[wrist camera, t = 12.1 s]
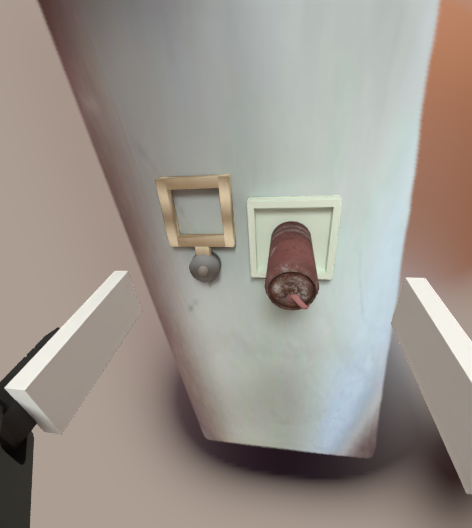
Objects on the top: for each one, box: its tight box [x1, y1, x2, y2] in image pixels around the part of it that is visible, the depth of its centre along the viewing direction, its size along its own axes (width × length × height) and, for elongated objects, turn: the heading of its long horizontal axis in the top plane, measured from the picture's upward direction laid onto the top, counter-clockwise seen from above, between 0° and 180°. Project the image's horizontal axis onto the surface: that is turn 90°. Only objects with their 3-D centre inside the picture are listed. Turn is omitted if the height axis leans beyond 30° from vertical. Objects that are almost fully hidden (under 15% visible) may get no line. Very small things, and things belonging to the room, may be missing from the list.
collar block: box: [155, 174, 236, 282], centre depth 43 cm, size 18×11×3 cm, turn 5°
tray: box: [247, 195, 342, 280], centre depth 41 cm, size 13×13×2 cm
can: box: [265, 221, 319, 310], centre depth 36 cm, size 6×6×14 cm
